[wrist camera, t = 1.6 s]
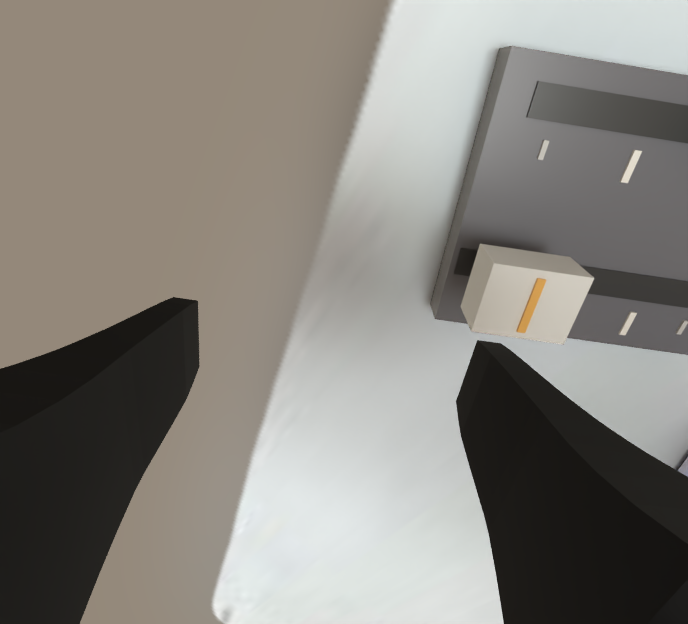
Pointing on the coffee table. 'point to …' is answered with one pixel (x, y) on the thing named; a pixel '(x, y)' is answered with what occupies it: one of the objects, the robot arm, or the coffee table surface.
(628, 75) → the mixer panel
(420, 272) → the coffee table surface
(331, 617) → the coffee table surface
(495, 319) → the cream fader
